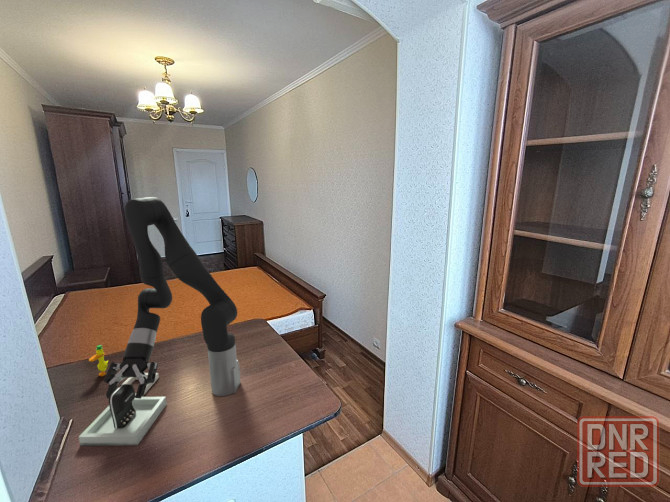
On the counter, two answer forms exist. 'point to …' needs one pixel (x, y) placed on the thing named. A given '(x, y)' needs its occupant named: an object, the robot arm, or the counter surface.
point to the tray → (132, 433)
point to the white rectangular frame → (131, 379)
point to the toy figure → (100, 360)
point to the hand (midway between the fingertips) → (123, 398)
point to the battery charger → (122, 405)
